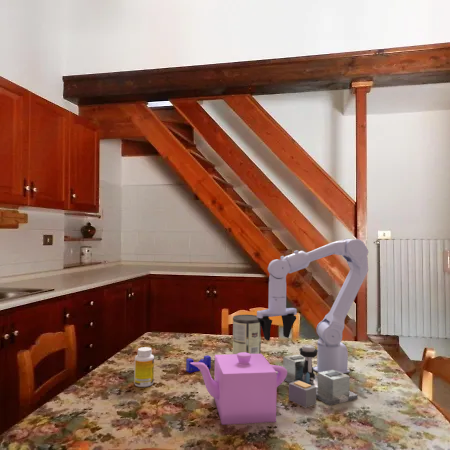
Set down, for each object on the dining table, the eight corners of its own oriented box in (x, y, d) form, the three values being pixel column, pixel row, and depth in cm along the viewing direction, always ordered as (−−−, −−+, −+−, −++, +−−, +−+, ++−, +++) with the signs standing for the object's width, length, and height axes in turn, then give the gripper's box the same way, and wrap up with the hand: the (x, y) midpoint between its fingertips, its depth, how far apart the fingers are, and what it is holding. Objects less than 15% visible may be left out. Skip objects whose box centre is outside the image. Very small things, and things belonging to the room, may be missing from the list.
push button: (321, 385, 117) (322, 350, 117) (303, 385, 116) (304, 350, 116) (313, 376, 123) (314, 343, 123) (296, 377, 122) (297, 344, 123)
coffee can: (241, 350, 153) (241, 313, 153) (265, 355, 147) (266, 316, 148) (226, 357, 144) (227, 317, 144) (252, 362, 139) (252, 321, 139)
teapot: (187, 399, 108) (188, 346, 108) (278, 395, 111) (279, 344, 111) (191, 426, 93) (192, 365, 93) (296, 421, 96) (296, 362, 96)
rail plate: (301, 371, 131) (301, 351, 131) (357, 398, 110) (357, 375, 110) (275, 375, 126) (276, 355, 126) (329, 405, 105) (329, 381, 105)
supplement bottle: (155, 386, 116) (155, 350, 116) (135, 388, 114) (136, 352, 114) (151, 379, 121) (152, 345, 121) (132, 381, 119) (133, 347, 119)
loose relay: (298, 396, 111) (298, 379, 111) (316, 404, 106) (316, 385, 106) (288, 400, 108) (288, 382, 108) (306, 408, 104) (306, 389, 104)
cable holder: (205, 366, 135) (205, 354, 135) (210, 369, 132) (211, 356, 132) (184, 370, 131) (184, 357, 131) (188, 373, 128) (189, 360, 128)
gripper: (287, 293, 139) (287, 333, 138) (251, 295, 132) (251, 337, 131) (300, 296, 132) (300, 338, 132) (264, 299, 125) (263, 343, 125)
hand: (276, 338), depth 131 cm, fingers open, 7 cm apart
